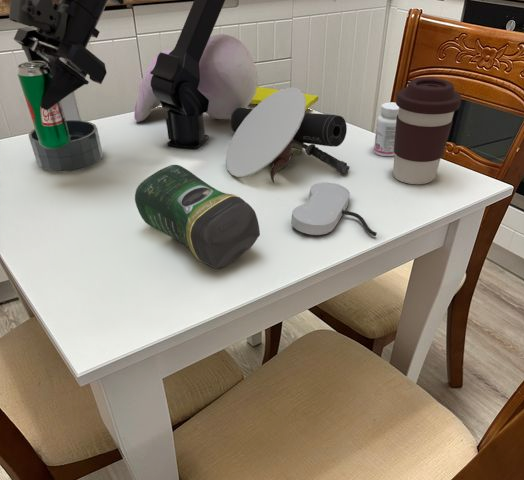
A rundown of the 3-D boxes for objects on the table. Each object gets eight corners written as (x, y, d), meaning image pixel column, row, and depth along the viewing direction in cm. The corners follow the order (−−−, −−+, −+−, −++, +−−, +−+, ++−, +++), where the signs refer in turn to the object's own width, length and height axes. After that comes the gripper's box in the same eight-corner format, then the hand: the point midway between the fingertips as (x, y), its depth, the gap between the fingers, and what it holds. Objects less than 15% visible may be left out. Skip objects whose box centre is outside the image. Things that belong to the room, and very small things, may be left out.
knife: (260, 116, 92) (272, 119, 97) (255, 127, 93) (268, 130, 98) (345, 163, 87) (354, 165, 92) (339, 174, 88) (348, 175, 93)
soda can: (53, 152, 83) (28, 70, 74) (34, 146, 85) (7, 66, 77) (78, 142, 86) (56, 62, 77) (58, 136, 88) (35, 58, 80)
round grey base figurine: (308, 69, 87) (343, 113, 94) (232, 120, 98) (268, 156, 105) (300, 146, 79) (338, 188, 87) (219, 191, 91) (258, 225, 98)
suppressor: (322, 129, 84) (333, 153, 88) (340, 108, 85) (350, 133, 89) (226, 119, 103) (238, 139, 106) (241, 102, 103) (253, 123, 107)
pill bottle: (370, 147, 100) (376, 101, 94) (394, 146, 100) (401, 100, 94) (376, 157, 96) (383, 110, 90) (401, 156, 96) (409, 109, 91)
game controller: (286, 218, 74) (285, 229, 75) (372, 240, 71) (369, 251, 72) (316, 178, 84) (314, 189, 86) (392, 196, 82) (389, 206, 83)
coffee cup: (409, 193, 85) (427, 96, 75) (373, 172, 91) (385, 80, 81) (455, 181, 88) (478, 86, 78) (416, 161, 94) (434, 71, 84)
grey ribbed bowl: (115, 152, 100) (108, 122, 96) (81, 177, 91) (73, 146, 88) (62, 146, 103) (54, 117, 99) (24, 170, 94) (14, 140, 90)
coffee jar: (145, 232, 78) (216, 283, 68) (125, 187, 72) (198, 235, 62) (195, 200, 81) (270, 244, 70) (179, 154, 75) (258, 195, 64)
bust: (168, 168, 122) (253, 135, 100) (108, 105, 111) (189, 52, 89) (206, 111, 129) (293, 67, 107) (153, 46, 118) (238, -17, 96)
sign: (303, 115, 113) (320, 101, 120) (303, 107, 112) (320, 93, 118) (192, 99, 123) (213, 86, 129) (192, 91, 122) (213, 80, 128)
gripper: (4, -36, 76) (-39, 61, 78) (64, -26, 66) (12, 85, 68) (67, 17, 86) (27, 103, 88) (128, 33, 76) (81, 129, 78)
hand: (35, 104), depth 80 cm, fingers closed on soda can, 5 cm apart
